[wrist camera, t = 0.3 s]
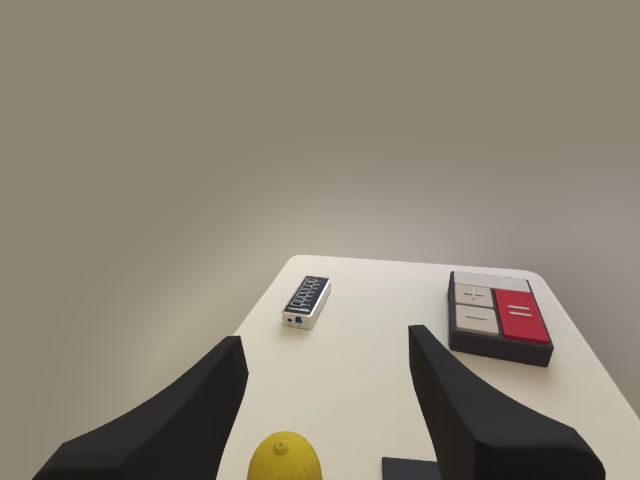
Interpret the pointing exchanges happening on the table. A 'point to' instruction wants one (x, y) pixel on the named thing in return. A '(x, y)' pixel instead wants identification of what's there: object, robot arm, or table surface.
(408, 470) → the desk mat
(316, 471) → the lemon
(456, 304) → the button control box
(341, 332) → the table surface
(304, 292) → the multiport hub
